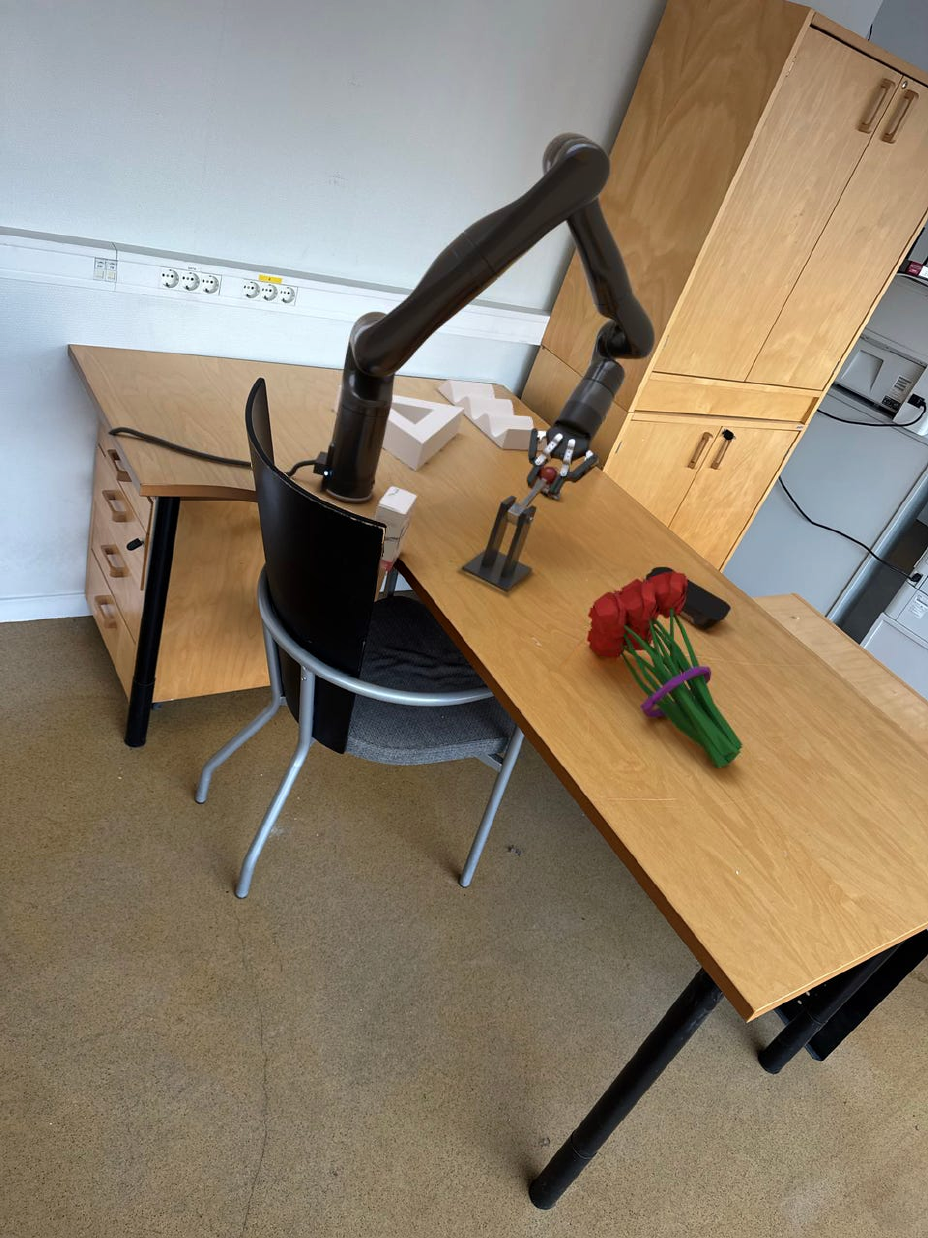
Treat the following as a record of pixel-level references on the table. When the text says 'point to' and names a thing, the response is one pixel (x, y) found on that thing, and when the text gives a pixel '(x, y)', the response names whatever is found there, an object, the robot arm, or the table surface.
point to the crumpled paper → (549, 487)
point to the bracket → (496, 564)
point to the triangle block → (418, 428)
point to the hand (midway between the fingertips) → (539, 490)
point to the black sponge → (698, 603)
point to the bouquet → (663, 659)
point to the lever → (531, 494)
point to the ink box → (394, 522)
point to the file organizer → (491, 414)
